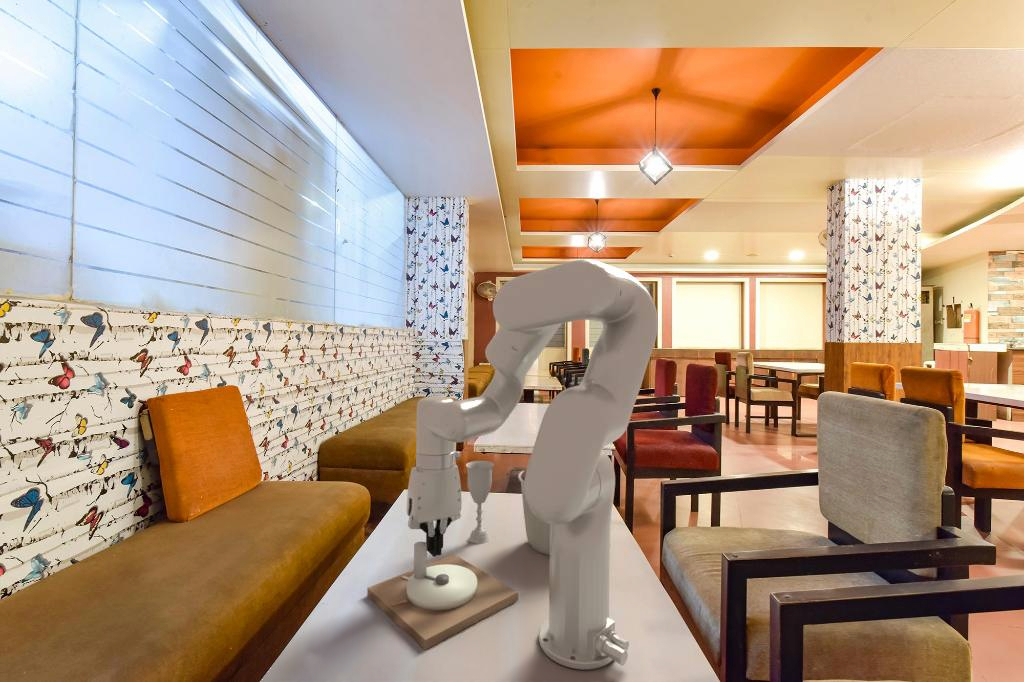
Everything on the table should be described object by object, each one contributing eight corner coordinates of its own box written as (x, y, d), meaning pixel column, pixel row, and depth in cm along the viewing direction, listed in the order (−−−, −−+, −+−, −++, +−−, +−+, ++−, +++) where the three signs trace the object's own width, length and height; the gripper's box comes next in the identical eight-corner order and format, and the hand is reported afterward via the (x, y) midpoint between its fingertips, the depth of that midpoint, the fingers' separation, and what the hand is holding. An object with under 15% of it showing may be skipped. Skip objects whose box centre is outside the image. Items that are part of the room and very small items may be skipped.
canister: (506, 557, 101) (507, 462, 101) (529, 525, 118) (530, 445, 118) (587, 571, 95) (589, 471, 95) (599, 536, 112) (601, 451, 112)
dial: (489, 580, 88) (489, 542, 88) (453, 618, 76) (454, 573, 76) (432, 566, 93) (433, 530, 93) (391, 599, 81) (392, 557, 81)
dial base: (517, 600, 84) (517, 591, 84) (425, 649, 71) (425, 638, 71) (454, 561, 99) (454, 553, 99) (367, 595, 85) (367, 586, 85)
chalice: (488, 547, 106) (489, 469, 106) (460, 544, 107) (461, 468, 107) (496, 533, 113) (497, 461, 113) (470, 531, 114) (470, 459, 114)
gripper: (461, 451, 96) (460, 537, 96) (392, 460, 88) (391, 554, 88) (478, 459, 90) (477, 551, 90) (405, 470, 82) (404, 571, 82)
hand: (434, 553), depth 89 cm, fingers closed
